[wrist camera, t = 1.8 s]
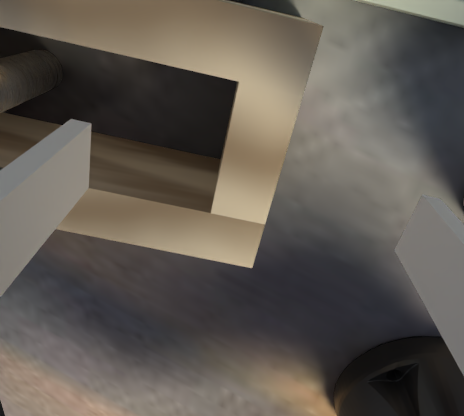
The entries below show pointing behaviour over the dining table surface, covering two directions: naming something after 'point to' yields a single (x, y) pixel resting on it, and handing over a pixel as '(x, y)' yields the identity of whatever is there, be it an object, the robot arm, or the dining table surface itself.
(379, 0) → the sage tray
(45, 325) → the dining table surface
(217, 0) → the open wooden box
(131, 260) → the dining table surface
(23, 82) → the steel bolt
